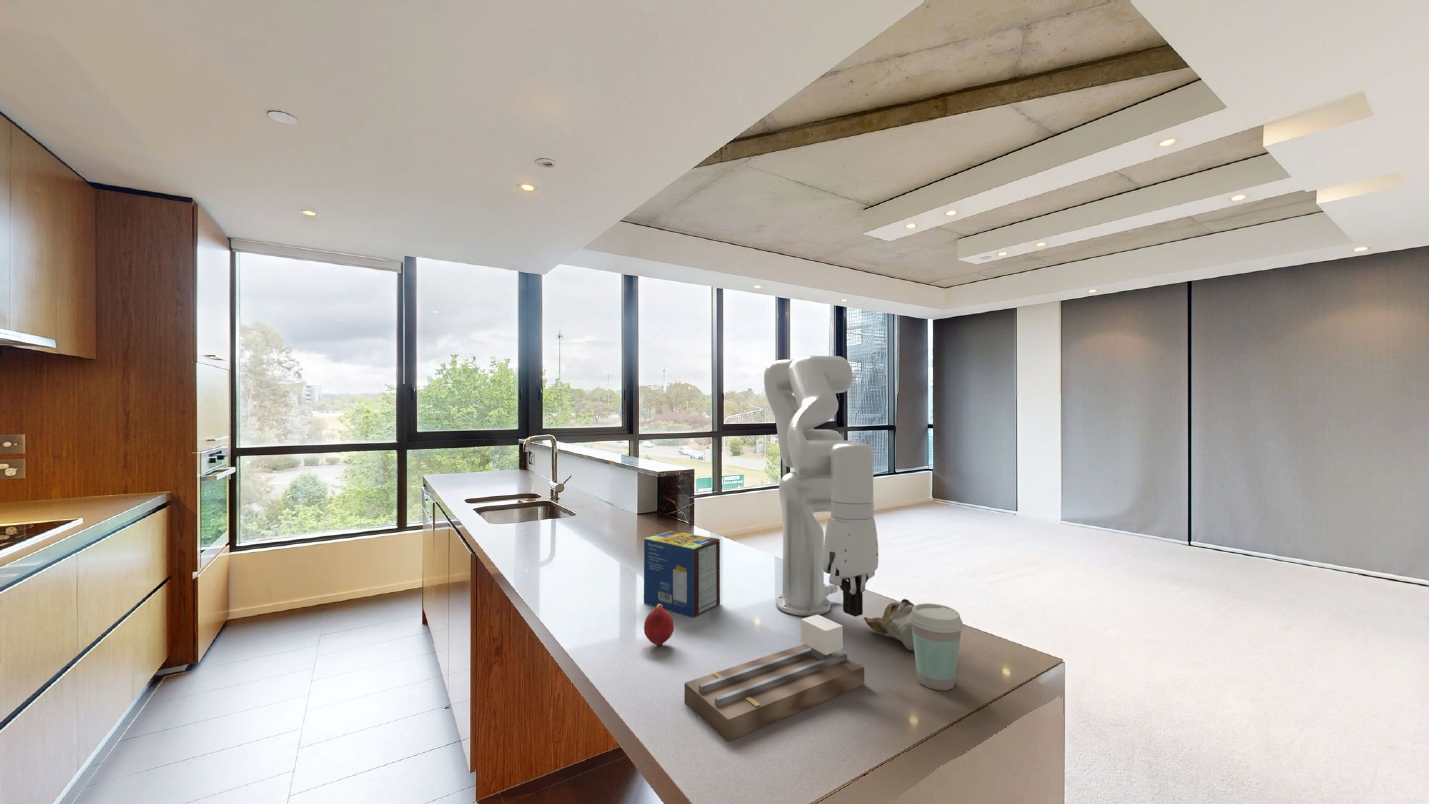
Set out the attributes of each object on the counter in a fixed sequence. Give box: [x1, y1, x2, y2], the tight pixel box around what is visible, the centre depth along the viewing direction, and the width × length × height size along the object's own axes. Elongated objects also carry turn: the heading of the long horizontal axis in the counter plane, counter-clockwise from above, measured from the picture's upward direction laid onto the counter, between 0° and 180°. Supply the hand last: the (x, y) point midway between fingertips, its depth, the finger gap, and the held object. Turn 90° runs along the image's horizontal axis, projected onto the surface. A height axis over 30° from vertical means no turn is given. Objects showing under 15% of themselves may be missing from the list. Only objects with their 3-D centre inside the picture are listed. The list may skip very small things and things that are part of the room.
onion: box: [643, 604, 675, 647], centre depth 105 cm, size 6×6×8 cm
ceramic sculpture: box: [863, 598, 916, 652], centre depth 108 cm, size 11×9×15 cm
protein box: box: [643, 530, 721, 619], centre depth 128 cm, size 10×15×16 cm
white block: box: [800, 614, 844, 660], centre depth 94 cm, size 4×6×6 cm, turn 34°
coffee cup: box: [909, 602, 964, 691], centre depth 92 cm, size 8×9×12 cm
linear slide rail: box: [683, 643, 865, 742], centre depth 88 cm, size 28×12×4 cm, turn 124°
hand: (852, 613), depth 97 cm, fingers closed
